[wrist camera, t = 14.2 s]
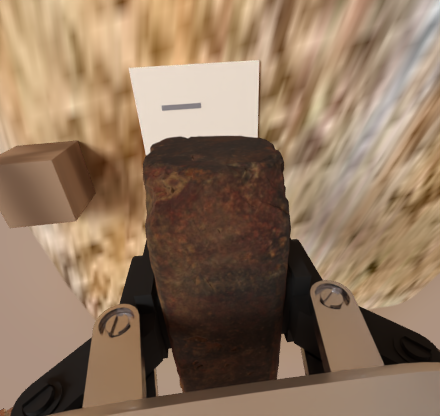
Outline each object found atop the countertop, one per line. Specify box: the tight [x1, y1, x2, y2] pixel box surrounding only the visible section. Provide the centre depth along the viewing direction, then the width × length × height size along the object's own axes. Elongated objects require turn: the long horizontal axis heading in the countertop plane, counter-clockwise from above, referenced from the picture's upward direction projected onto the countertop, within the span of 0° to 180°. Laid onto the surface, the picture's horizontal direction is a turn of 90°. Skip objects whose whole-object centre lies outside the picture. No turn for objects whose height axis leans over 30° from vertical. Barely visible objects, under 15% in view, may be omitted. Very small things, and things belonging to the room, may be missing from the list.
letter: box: [129, 60, 259, 155], centre depth 24 cm, size 10×14×1 cm
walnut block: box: [0, 141, 95, 228], centre depth 21 cm, size 5×5×5 cm
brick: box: [143, 136, 291, 393], centre depth 10 cm, size 11×4×5 cm, turn 3°
